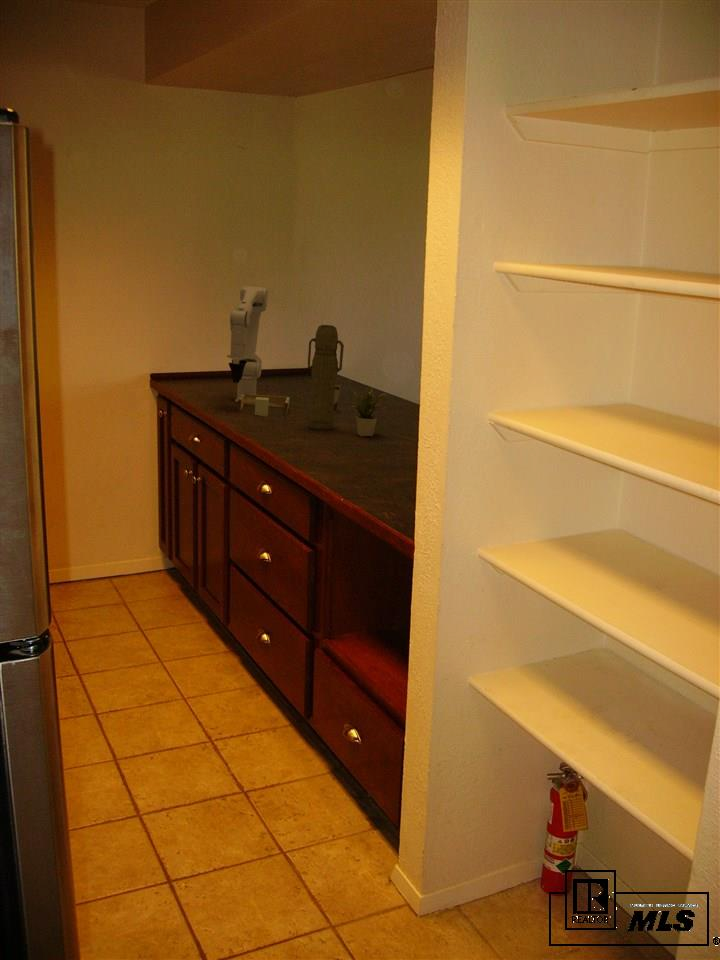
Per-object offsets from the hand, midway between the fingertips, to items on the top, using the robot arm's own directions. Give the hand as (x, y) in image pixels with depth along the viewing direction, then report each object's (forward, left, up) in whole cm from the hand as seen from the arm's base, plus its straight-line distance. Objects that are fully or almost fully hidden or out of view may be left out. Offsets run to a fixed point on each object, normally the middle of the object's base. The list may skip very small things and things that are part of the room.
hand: (237, 381), depth 349 cm
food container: (-7, +32, -11) cm, 34 cm away
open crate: (-3, +10, -10) cm, 15 cm away
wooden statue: (+24, +32, -11) cm, 41 cm away
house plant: (+33, +48, -11) cm, 59 cm away
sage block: (+8, +10, -10) cm, 17 cm away
